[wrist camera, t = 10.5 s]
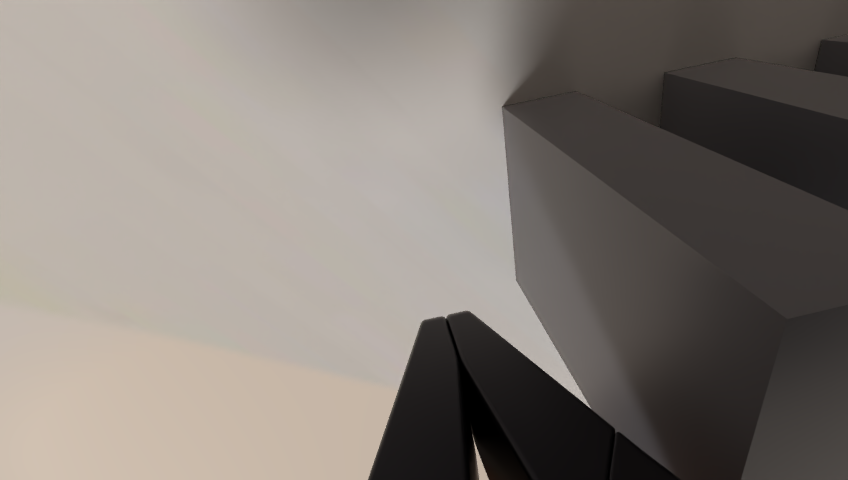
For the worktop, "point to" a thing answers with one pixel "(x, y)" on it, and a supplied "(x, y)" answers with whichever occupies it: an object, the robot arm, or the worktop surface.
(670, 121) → the tile
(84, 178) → the worktop surface
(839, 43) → the tile
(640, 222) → the tile
